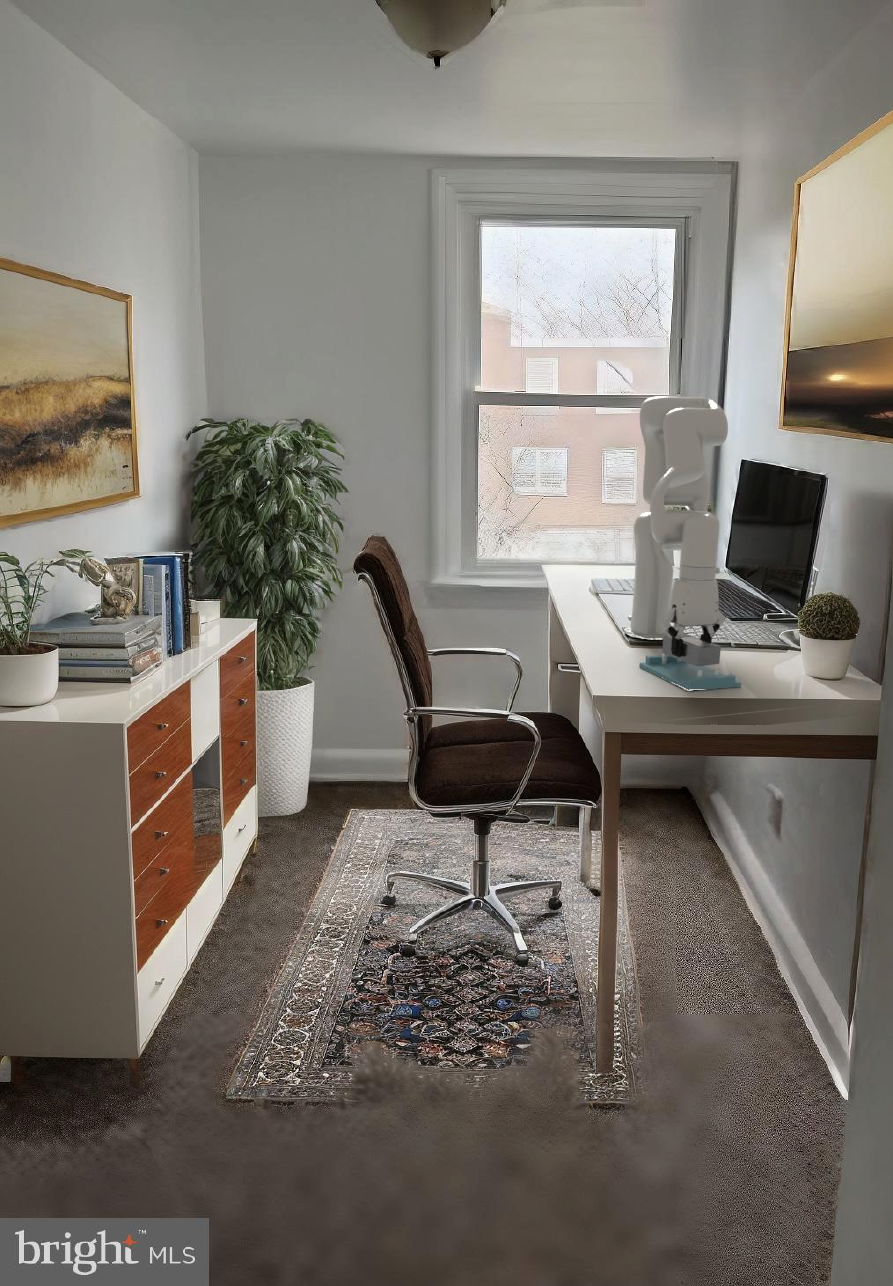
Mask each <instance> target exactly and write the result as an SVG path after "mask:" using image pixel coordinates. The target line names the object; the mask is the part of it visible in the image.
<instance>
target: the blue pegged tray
mask: <svg viewBox="0 0 893 1286" xmlns="http://www.w3.org/2000/svg"><path fill="white" fill-rule="evenodd" d="M639 668H641V669H642V670H644V669H645V670H644V671H646V670H647V671H646V672H648V671H649V673H650V672H651V673H650V674H652V673H653V674H652V675H654V676H655V677H658V678H660V677H663V678H664V679H666V680H668V681H670V682H673V683H675V684H678V685H680V686H682V687H684V688H686V689H688V690H689V689H715V690H718V689H717V688H726V689H730V688H729V687H737V688H741V687H742V682H741V681H738V680H736V678H737V676H736V675H733V674H723V673H721V672H719V668H710V667H708V666H707V665H706V666H694V665H692V664H689V663H687V662H684V661H681V660H679V659H676V658H673V657H671V656H668V655H666V654H663V653H661V654H654V655H645V662H639ZM664 679H663V680H664ZM666 680H665V681H666ZM668 681H667V682H668ZM670 682H669V683H670ZM740 686H741V687H740Z"/></svg>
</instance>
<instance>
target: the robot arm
mask: <svg viewBox="0 0 893 1286" xmlns="http://www.w3.org/2000/svg"><path fill="white" fill-rule="evenodd" d="M728 423H729V422H728V418H727V415H726V412H725V411H724V409H723V408H722V407H721V406H720V405H719V404H718V403H717V402H716V401H715V399H712V398H710V397H703V396H702V397H701V396H698V397H697V396H677V395H676V396H675V395H673V396H671V395H670V396H668V395H666V396H665V395H664V396H663V395H662V396H653V397H648V398H647V399H645V400H644V401H643V403H642V404H641V406H640V411H639V425H640V431H641V435H642V439H643V444H644V448H645V449H644V453H645V454H644V466H643V481H642V496H643V500H644V502H645V503H646V504H647V505H649V511H647V512H644V513H641V514H639V516H637V518H636V519H635V522H634V525H633V526H634V527H633V533H634V547H635V548H634V549H635V563H634V580H633V581H634V582H633V583H634V584H633V594H632V595H633V596H632V597H633V598H632V608H631V610H632V611H631V612H632V613H631V615H628V617H627V620H628V621H629V622H630V626H628V627H626V628H624V633H625V632H633V633H634V635H638V636H641V637H645V638H663V636H665V635H670V636H671V637H672V644H671V651H672V654H673V655H675V656H677V657H681V656H682V650H683V639H681V636H682V634H684V632H685V630H686V628H689V627H701V630H702V633H701V634H700V637H699V638H700V639H702V640H705V641H708V642H711V643H713V642H712V640H713V638H714V636H715V634H716V632H717V631H718V630H720V628H721V626H722V625H723V624H724V623H725V621H726V620H727V618H726V617H725V616H724V614H723V613H722V612H721V611H720V610H719V601H720V600H719V587H718V580H717V579H716V576H717V575H716V574H720V572H721V571H720V570H721V569H720V567H718V566H717V559H718V558H717V557H718V547H719V537H720V519H718V518H717V517H715V515H714V514H713V513H712V512H710V511H708V509H709V508H708V506H709V497H710V496H709V495H710V494H709V493H710V492H709V491H710V488H709V487H710V485H709V479H708V476H707V474H706V473H705V472H706V462H705V459H706V458H705V451H704V447H705V446H708V447H709V446H710V447H719V446H721V445H723V444H725V441H726V440H727V437H728V433H729V424H728ZM665 507H672V508H673V507H675V508H676V507H677V508H678V507H679V508H686V510H684V509H681V510H680V509H666V508H665ZM668 551H669V552H670V551H680V563H679V572H678V578H675V579H674V567H673V563H672V562H671V561H670V559H669V558H668V557H667V556H666V554H665V552H668ZM673 580H674V583H673ZM671 623H672V624H673V625H672V624H671ZM633 633H632V634H633Z"/></svg>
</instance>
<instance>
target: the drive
mask: <svg viewBox="0 0 893 1286" xmlns="http://www.w3.org/2000/svg"><path fill="white" fill-rule="evenodd" d="M681 639H683V650H682V656H681V657H677V656H675V655H673V654H672V651H671V644H672V637H671V636H670V635H665V636H663V641H662V651H661V654H666V655H668V656H671V657H673V658H676V659H679V660H681V661H684V662H687V663H689V664H692V665H694V666H706V667H707V666H712V665H713V666H715V665H719V664H720V663H721V661H720V660H721V649H722V646H721V645H719V644H717V643H713V642H708V641H705V640H702V639H700V637H696V636H693V635H690V634H688V633H683V634H682V636H681Z"/></svg>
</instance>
